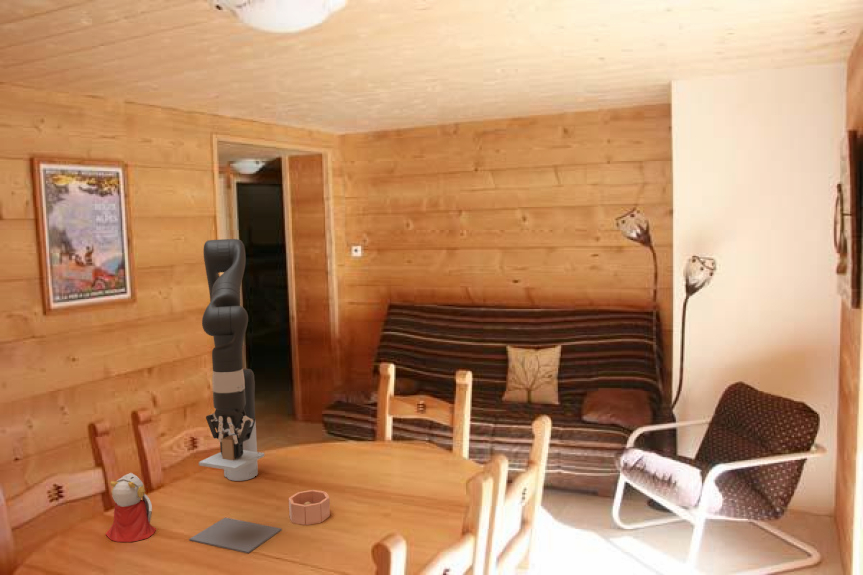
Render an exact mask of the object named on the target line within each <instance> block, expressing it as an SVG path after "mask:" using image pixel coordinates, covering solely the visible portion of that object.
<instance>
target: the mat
mask: <svg viewBox="0 0 863 575" xmlns="http://www.w3.org/2000/svg"><path fill="white" fill-rule="evenodd" d="M282 530H283V529H282V528H280V527H275V526H271V525H266V524H260V523H257V522H256V523H255V522H251V521H244V520H241V519H235V518H230V517H223V518H221V519H220V520H218V521H217V522H215V523H213V524H212V525H210V526H208V527H207V528H205V529H204V530H201V531H200V532H199V533H198V532H197V533H196V534H195V535H193V536H191V537H190V538H189V539H188V541H191V542H195V543H200V544H204V545H209V546H212V547H213V546H214V547H217V548H223V549H227V550H231V551H236V552H240V553H244V554H250V553H251V552H253V551H254V550H255V549H257V548H259V547H260V546H261V545H262V544H265V543H266V542H267V541H269V540H270V539H271V538H273V537H274V536H276V535H277V534H278V533H280V532H281V531H282Z"/></svg>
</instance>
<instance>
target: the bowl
mask: <svg viewBox="0 0 863 575" xmlns="http://www.w3.org/2000/svg"><path fill="white" fill-rule="evenodd" d="M330 503H331V502H330V496H329V494H328V493H327V492H326V491H322V490H315V489H310V490H304V491H298V492H296V493H294V494H292V495H291V496H290V497H288V512H289V517H288V518H290V521H291V523H292V524H297V525H302V526H309V525H315V524H320V523H322V522H324V521H325V520H327V519H328V518H329V517H330V516H331V506H330Z"/></svg>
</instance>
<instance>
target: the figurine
mask: <svg viewBox="0 0 863 575" xmlns="http://www.w3.org/2000/svg"><path fill="white" fill-rule="evenodd" d="M110 485H111V487H112V488H111V496H112V499H113V501H114V503H115V504H114V510H113V523H112V525H111V527H109V529H108V530H107V531H106V532H105V535H106V536H107V537H108V539H110V540H111V541H113V542H117V543H134V542H139V541H142V540H147V539H149V537H151V536H152V535H154V534H155V533H156V530H157V528H156V527H155V526H153V525H152V524H151V520H152V519H151V518H152V516H153V515H152V511H153V506H152V505H153V504H152V502H151V499H150V498H149V496H148V495H147V494H146V493H145V492H147V490H145V487H146V488H147V486H146V485H144V483H143V481H142V480H141V479H140V478H139V476H137V475H136V474H134V473H133V472H129V473H127V474H124V475H123V476H121V477H120V478H118V479H117V480H116V481H113V480H112V481H110Z"/></svg>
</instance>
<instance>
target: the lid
mask: <svg viewBox="0 0 863 575" xmlns="http://www.w3.org/2000/svg"><path fill="white" fill-rule="evenodd" d="M238 438H239V436H238ZM234 444H235V443H234V440H233V435H230V436H227V437H225V438H223V439H222V454H221V451H220V452H217V453H215V454H213V455H211V456H209V457H207V458H205V459H202V460H200V461H199V462H198V466H200V467H207V468H213V469H221V470H224V469H225V470H231V471H237V470H239V469H240V468H242V467H244V466H246V465H248V464H250V463H252V462H254V461H256V460H257V461H258V460H259V459H262V458H264V457H265V452H260V451H257V452H253V451H246V450H243V455H242V456H241V457H240V458H234Z"/></svg>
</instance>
